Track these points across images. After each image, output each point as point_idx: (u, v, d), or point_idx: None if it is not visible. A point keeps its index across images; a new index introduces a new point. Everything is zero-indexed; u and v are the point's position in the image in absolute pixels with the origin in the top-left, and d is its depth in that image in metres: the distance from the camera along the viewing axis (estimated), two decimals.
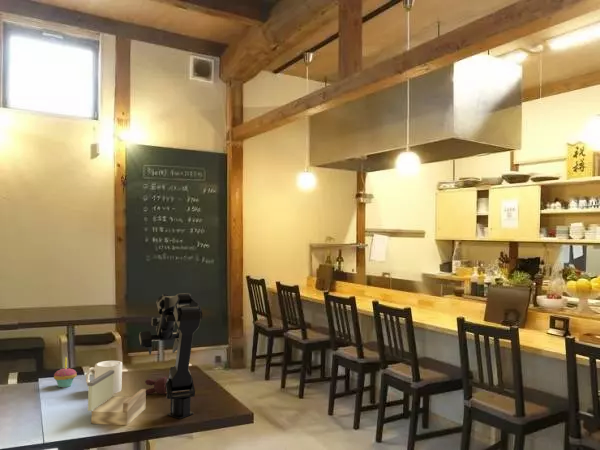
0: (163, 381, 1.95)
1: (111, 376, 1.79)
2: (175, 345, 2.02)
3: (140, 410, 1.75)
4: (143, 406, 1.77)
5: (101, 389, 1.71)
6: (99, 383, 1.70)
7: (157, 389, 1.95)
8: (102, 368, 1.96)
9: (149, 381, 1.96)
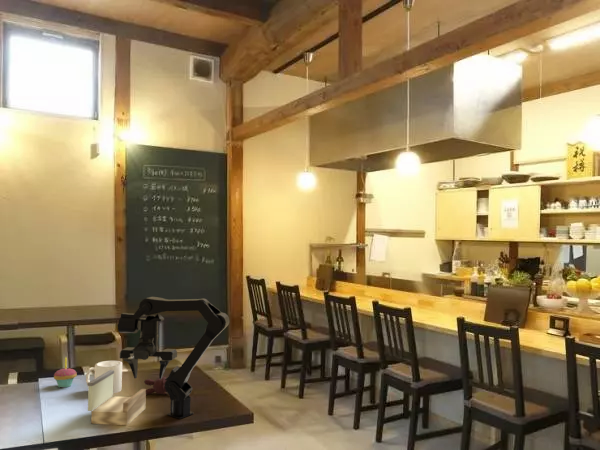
0: (162, 381, 1.95)
1: (111, 376, 1.79)
2: (136, 365, 1.76)
3: (140, 410, 1.75)
4: (143, 406, 1.77)
5: (101, 389, 1.71)
6: (99, 383, 1.70)
7: (156, 389, 1.94)
8: (102, 368, 1.96)
9: (148, 381, 1.96)
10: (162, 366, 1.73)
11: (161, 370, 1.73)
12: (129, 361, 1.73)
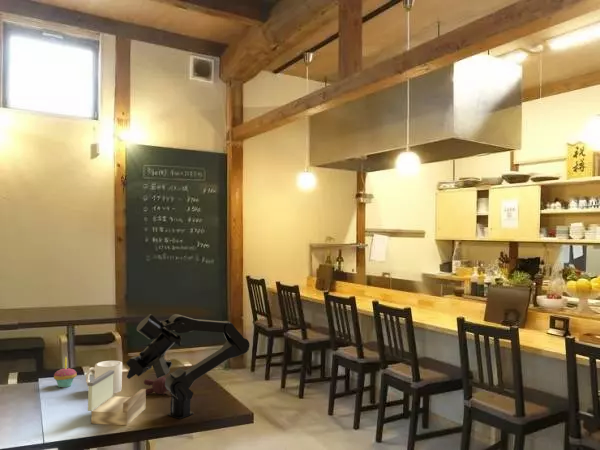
0: (161, 381, 1.95)
1: (111, 376, 1.79)
2: None
3: (140, 410, 1.75)
4: (143, 406, 1.77)
5: (101, 389, 1.71)
6: (99, 383, 1.70)
7: (155, 389, 1.94)
8: (102, 368, 1.96)
9: (148, 381, 1.96)
10: None
11: None
12: None
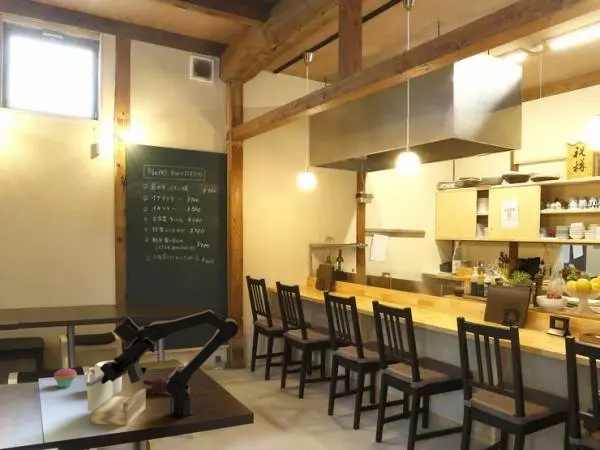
0: (160, 381, 1.95)
1: None
2: None
3: (140, 410, 1.75)
4: (143, 406, 1.77)
5: (100, 389, 1.71)
6: (98, 383, 1.70)
7: (154, 389, 1.94)
8: None
9: (147, 381, 1.96)
10: None
11: None
12: None
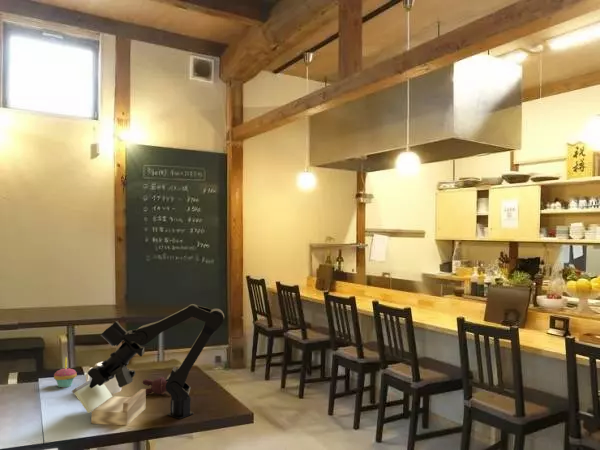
0: (160, 381, 1.95)
1: None
2: None
3: (140, 410, 1.75)
4: (143, 406, 1.77)
5: (92, 392, 1.71)
6: (85, 387, 1.70)
7: (154, 389, 1.94)
8: None
9: (146, 381, 1.96)
10: None
11: None
12: None
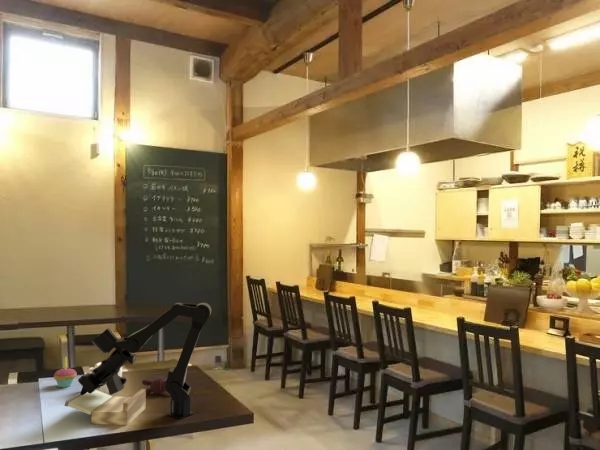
0: (159, 381, 1.94)
1: None
2: None
3: (140, 410, 1.75)
4: (143, 406, 1.77)
5: (87, 399, 1.71)
6: (78, 398, 1.70)
7: (153, 389, 1.94)
8: None
9: (146, 381, 1.96)
10: None
11: None
12: None
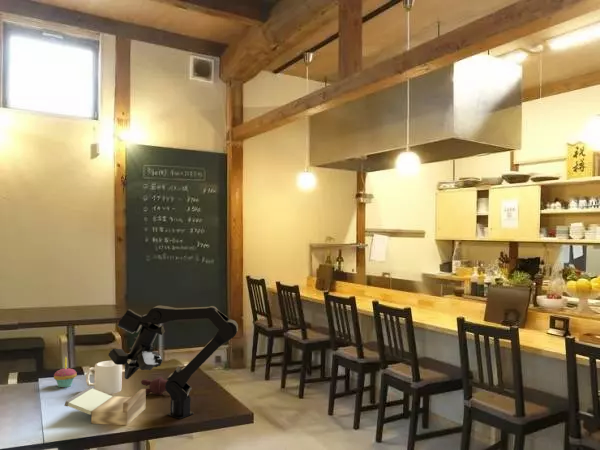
0: (158, 382, 1.94)
1: (91, 390, 1.79)
2: None
3: (140, 410, 1.75)
4: (143, 406, 1.77)
5: (87, 399, 1.71)
6: (78, 398, 1.70)
7: (152, 389, 1.94)
8: (102, 368, 1.96)
9: (145, 381, 1.96)
10: (137, 369, 1.75)
11: (133, 372, 1.75)
12: (133, 366, 1.72)
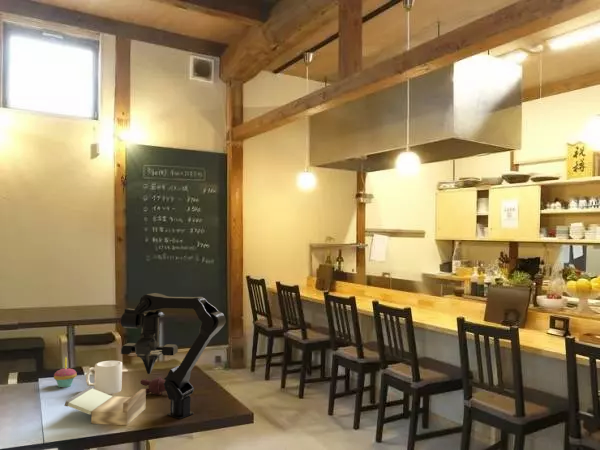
0: (157, 382, 1.94)
1: (91, 390, 1.79)
2: None
3: (140, 410, 1.75)
4: (143, 406, 1.77)
5: (87, 399, 1.71)
6: (78, 398, 1.70)
7: (151, 389, 1.94)
8: (102, 368, 1.96)
9: (144, 381, 1.96)
10: (151, 361, 1.76)
11: (150, 365, 1.76)
12: (142, 357, 1.75)
